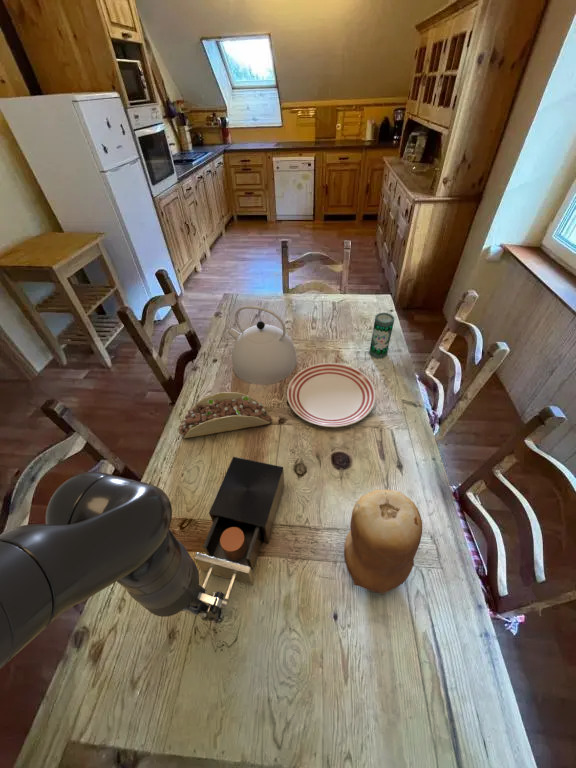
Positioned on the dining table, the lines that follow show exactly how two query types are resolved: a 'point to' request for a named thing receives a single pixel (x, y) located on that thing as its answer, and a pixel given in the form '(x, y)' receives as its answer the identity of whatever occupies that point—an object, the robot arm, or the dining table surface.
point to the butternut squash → (382, 540)
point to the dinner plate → (331, 395)
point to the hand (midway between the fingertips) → (192, 608)
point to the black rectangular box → (250, 494)
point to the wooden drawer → (224, 566)
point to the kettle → (262, 352)
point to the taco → (223, 414)
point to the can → (381, 335)
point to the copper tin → (233, 543)
